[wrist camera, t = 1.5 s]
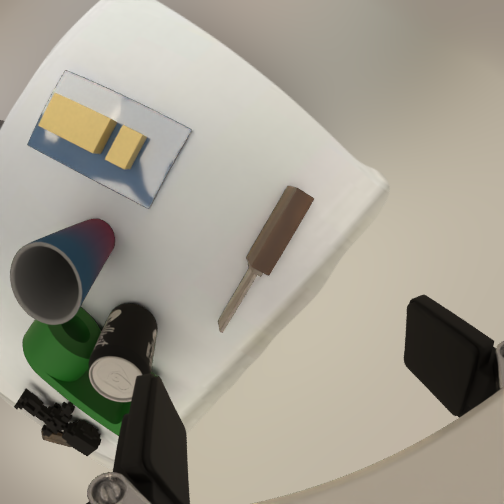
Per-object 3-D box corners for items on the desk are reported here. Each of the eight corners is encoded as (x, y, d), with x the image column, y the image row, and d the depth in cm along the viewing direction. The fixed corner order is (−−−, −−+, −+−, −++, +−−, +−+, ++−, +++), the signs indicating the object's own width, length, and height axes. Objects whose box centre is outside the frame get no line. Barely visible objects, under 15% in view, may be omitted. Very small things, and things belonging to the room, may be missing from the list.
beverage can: (136, 291, 37) (117, 342, 25) (168, 330, 39) (162, 389, 28) (99, 316, 37) (72, 371, 25) (131, 352, 39) (116, 413, 27)
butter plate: (29, 145, 29) (26, 145, 28) (67, 71, 28) (65, 69, 27) (149, 208, 34) (148, 209, 34) (192, 130, 33) (192, 129, 32)
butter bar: (48, 127, 29) (37, 125, 26) (64, 97, 28) (54, 92, 25) (100, 154, 31) (92, 153, 28) (117, 122, 30) (110, 118, 27)
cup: (88, 275, 35) (40, 336, 21) (61, 228, 33) (-3, 266, 19) (132, 250, 35) (98, 304, 21) (105, 200, 33) (52, 225, 19)
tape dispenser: (11, 349, 27) (32, 316, 26) (40, 317, 35) (62, 288, 35) (126, 441, 32) (156, 418, 31) (135, 398, 40) (162, 375, 40)
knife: (303, 195, 37) (314, 198, 34) (227, 325, 40) (230, 339, 37) (287, 185, 37) (297, 187, 33) (210, 318, 39) (212, 331, 36)
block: (42, 425, 40) (39, 432, 38) (71, 433, 41) (69, 440, 39) (46, 437, 41) (44, 444, 39) (74, 445, 42) (72, 452, 40)
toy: (28, 384, 33) (111, 443, 37) (40, 366, 37) (116, 423, 41) (7, 417, 33) (79, 468, 38) (17, 400, 38) (84, 449, 42)
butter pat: (111, 159, 31) (104, 159, 29) (128, 127, 31) (122, 124, 28) (130, 169, 32) (124, 169, 29) (147, 137, 31) (143, 134, 29)
